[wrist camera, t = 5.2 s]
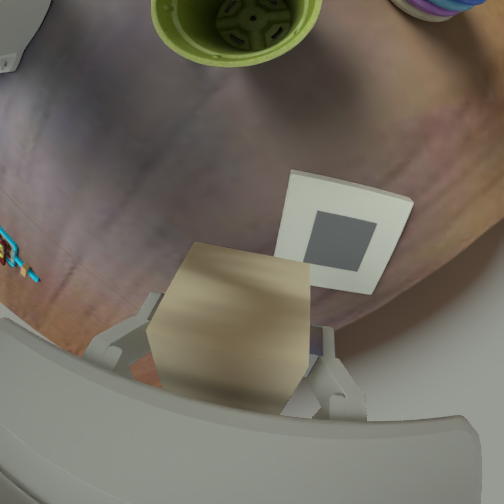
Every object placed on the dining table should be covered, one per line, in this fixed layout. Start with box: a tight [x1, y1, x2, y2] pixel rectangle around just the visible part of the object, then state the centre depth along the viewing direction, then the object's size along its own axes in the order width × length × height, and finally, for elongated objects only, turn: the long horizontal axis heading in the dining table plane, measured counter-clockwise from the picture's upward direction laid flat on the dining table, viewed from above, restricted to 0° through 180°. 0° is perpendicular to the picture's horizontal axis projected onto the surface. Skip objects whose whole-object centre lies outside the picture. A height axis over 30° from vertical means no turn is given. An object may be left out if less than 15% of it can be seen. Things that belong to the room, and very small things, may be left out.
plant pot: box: [151, 0, 322, 68], centre depth 13 cm, size 9×9×9 cm
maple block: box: [146, 241, 310, 415], centre depth 11 cm, size 5×5×5 cm
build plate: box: [273, 169, 414, 295], centre depth 27 cm, size 12×12×1 cm
